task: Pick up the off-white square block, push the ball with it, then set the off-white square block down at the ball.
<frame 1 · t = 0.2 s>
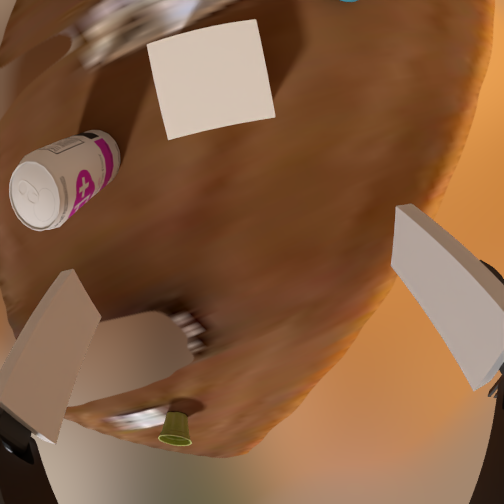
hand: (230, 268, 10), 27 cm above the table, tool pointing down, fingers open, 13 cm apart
off-white square block: (215, 82, 29), on the table
supplement can: (96, 157, 32), on the table
plant pot: (177, 414, 68), on the table
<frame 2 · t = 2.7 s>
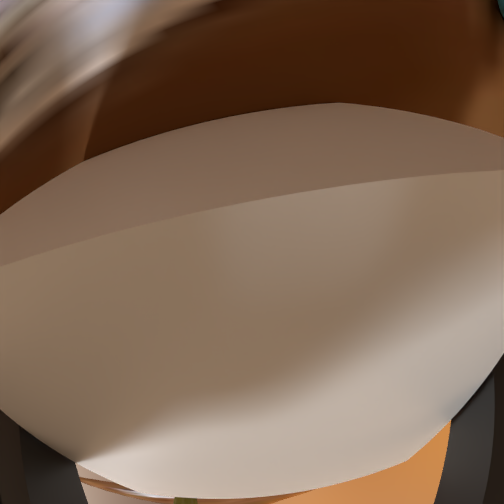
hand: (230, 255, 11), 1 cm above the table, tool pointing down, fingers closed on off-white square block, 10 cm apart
off-white square block: (230, 244, 12), on the table, touching gripper
plant pot: (185, 496, 51), on the table
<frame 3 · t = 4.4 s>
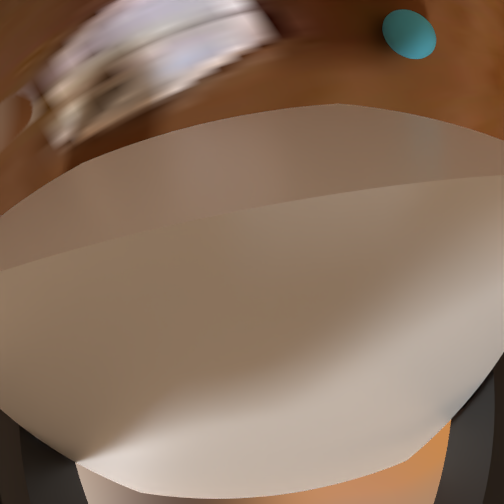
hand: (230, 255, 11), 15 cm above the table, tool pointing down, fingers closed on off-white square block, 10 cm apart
off-white square block: (230, 245, 12), point 14 cm above the table, touching gripper
ball: (409, 33, 15), on the table
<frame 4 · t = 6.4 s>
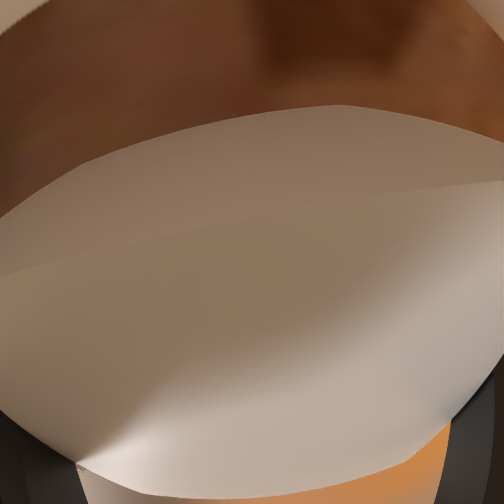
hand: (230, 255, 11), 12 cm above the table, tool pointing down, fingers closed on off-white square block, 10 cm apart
off-white square block: (231, 246, 12), point 11 cm above the table, touching gripper
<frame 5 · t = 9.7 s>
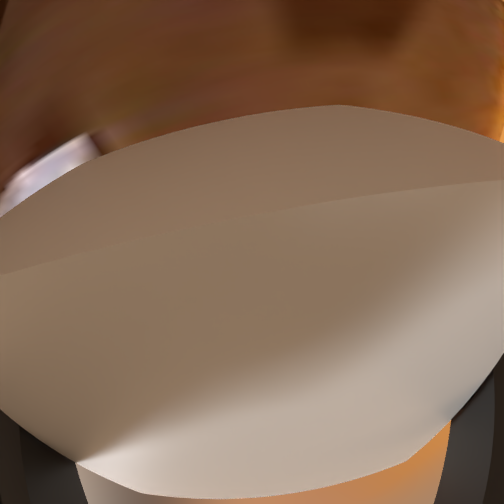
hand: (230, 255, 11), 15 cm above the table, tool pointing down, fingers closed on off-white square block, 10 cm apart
off-white square block: (231, 246, 12), point 14 cm above the table, touching gripper
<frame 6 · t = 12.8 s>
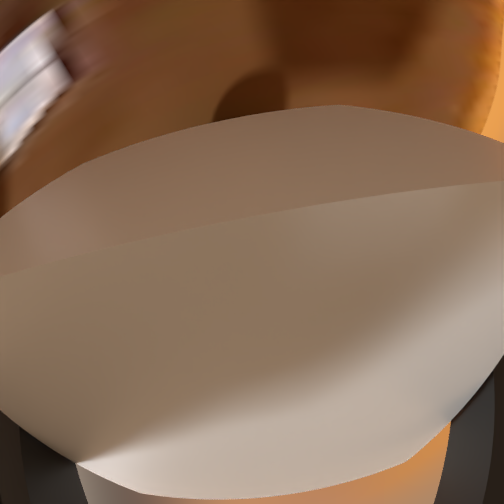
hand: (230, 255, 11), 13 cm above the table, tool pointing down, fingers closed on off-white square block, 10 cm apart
off-white square block: (231, 246, 12), point 12 cm above the table, touching gripper
when the fingers open (1 cm above the table, at t = 15.2 s): off-white square block stays where it is, on the table.
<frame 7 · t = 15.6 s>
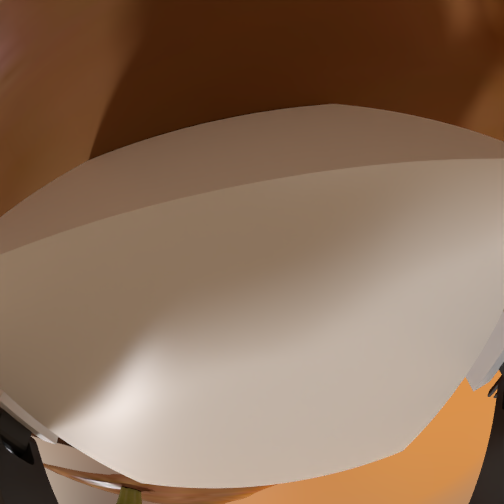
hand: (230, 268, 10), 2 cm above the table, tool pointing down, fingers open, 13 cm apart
off-white square block: (230, 240, 12), on the table
plant pot: (131, 488, 52), on the table
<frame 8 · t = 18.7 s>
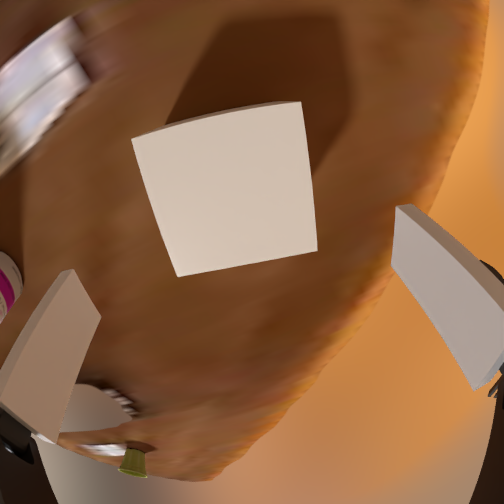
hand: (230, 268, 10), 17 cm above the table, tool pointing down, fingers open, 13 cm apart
off-white square block: (231, 164, 24), on the table
supplement can: (6, 270, 29), on the table
plant pot: (135, 450, 65), on the table
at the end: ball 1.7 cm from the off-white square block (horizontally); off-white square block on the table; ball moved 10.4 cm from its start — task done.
